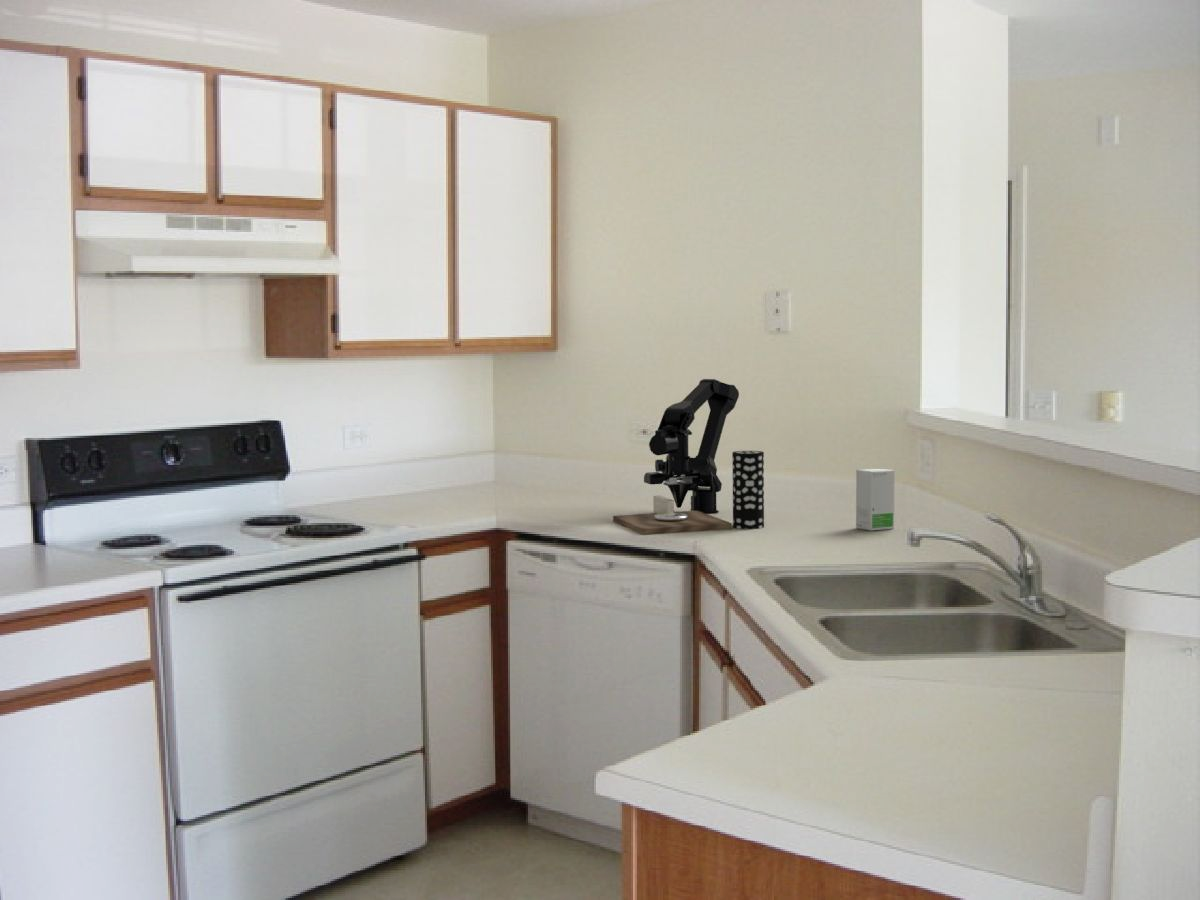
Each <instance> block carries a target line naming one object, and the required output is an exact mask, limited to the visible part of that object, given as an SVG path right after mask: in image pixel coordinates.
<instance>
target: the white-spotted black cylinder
mask: <svg viewBox="0 0 1200 900" xmlns="http://www.w3.org/2000/svg"><path fill="white" fill-rule="evenodd" d="M764 453H765V452H764V451H761V450H737V451H736V450H735V451H733V452H732V527H733V528H735V529H739V528H740V529H742V530H757V529H762V528H765V467H764V466H765V459H764V458H765V455H764Z"/></svg>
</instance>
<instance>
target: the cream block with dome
mask: <svg viewBox="0 0 1200 900" xmlns="http://www.w3.org/2000/svg"><path fill="white" fill-rule="evenodd" d="M652 499H653V504H652V505H653V513H655V514H656V515H654V519H656V520H662V521H678V520H685V519H687V518H688V515H687V514H682V513H674V512H675V501H674V499H670V498H668V497H665V496H662V495H653V497H652Z"/></svg>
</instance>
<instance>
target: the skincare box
mask: <svg viewBox="0 0 1200 900" xmlns="http://www.w3.org/2000/svg"><path fill="white" fill-rule="evenodd" d="M855 473H856V475H855V476H856V477H855V479H856V480H855V482H856V485H855V486H856V488H855V490H856V491H855V492H856V493H855V500H856V501H855V508H856V509H855V528H856V529H860V530H864V531H869V532H870V531H881V530H882V531H883V530H893V529H895V469H883V468H866V469H865V468H864V469H856V470H855Z"/></svg>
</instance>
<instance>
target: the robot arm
mask: <svg viewBox="0 0 1200 900" xmlns="http://www.w3.org/2000/svg"><path fill="white" fill-rule="evenodd" d="M739 391H740V390H739V389H738V388H737V387H736V385H734V384H729V383H725V382H722V381H720V380H716V378H714V379H713V378H702V379H701V380H700V381H699V383H698V384H697V386H696V387H694V389H692V390H691V392H689V394H687V395H686V396H685V398H683V399H682V400H681V401H679V402H676V403H673V404H671V405H670V406H668V407H667V408H666V409H665V410H664V412H663V414H662V417H661V420H660V423H659V425H658V428H657V430H655V432H654V433H655V434H654V435H652V437H651V438H650V440H649V442H648V447H649V450H650V452H651V453H652V454H653V455H656V456H664V455H666V458H665V459H666V460H665V461H664V460H663V459H655V461H654V467H655V468H654V469H655V471H653V472H652V471H651V472H650V471H649V472H646V473H644V476H643V483H645V484H647V485H662V484H663V485H664V486H667V488H669V491H670V493H671V495H672V497H673V500H674V505H675V506H676V508H677V509H679V508H680V509H681V507H682V505H683V503H684V501H685V498H686V496H687V494H688V492H692V495H691V496H690V510H689V511H700V512H702V513H705V514H714V513H719V512H720V511H719V509H718V510H717V493H719V492H721V490H722V486H723V483H722V482H721V480H720V478H719V476H718V475H717V473H718V469H717V466H716V462H715V458H716V454H717V451H718V448H719V444H720V439H721V437H722V433H723V429H724V425H725V422H726V419H727V416H728V415H729V414H730V412H732V411H733V410H734V409H735V407H736V405H737V401H738V400H739V396H740V392H739ZM706 402H707V403H708V408H709V414H708V417H707V420H706V425H705V427H704V432H703V435H702V438H701V442H700V446H699V448H698V449H699V450H698V453H697V455H696V456H695V457H691V456H690V455H689V436H690V435H691V436H692V435H693V432H692V431H691V430H690V429H689V427H690V426H691V425H692V423H693V422H694V420H695V419H696V418H695V417H696V416H695V414H696V413H697V411H698V410H699V409H700V408H702V406H703V405H704V404H705V403H706Z"/></svg>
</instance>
